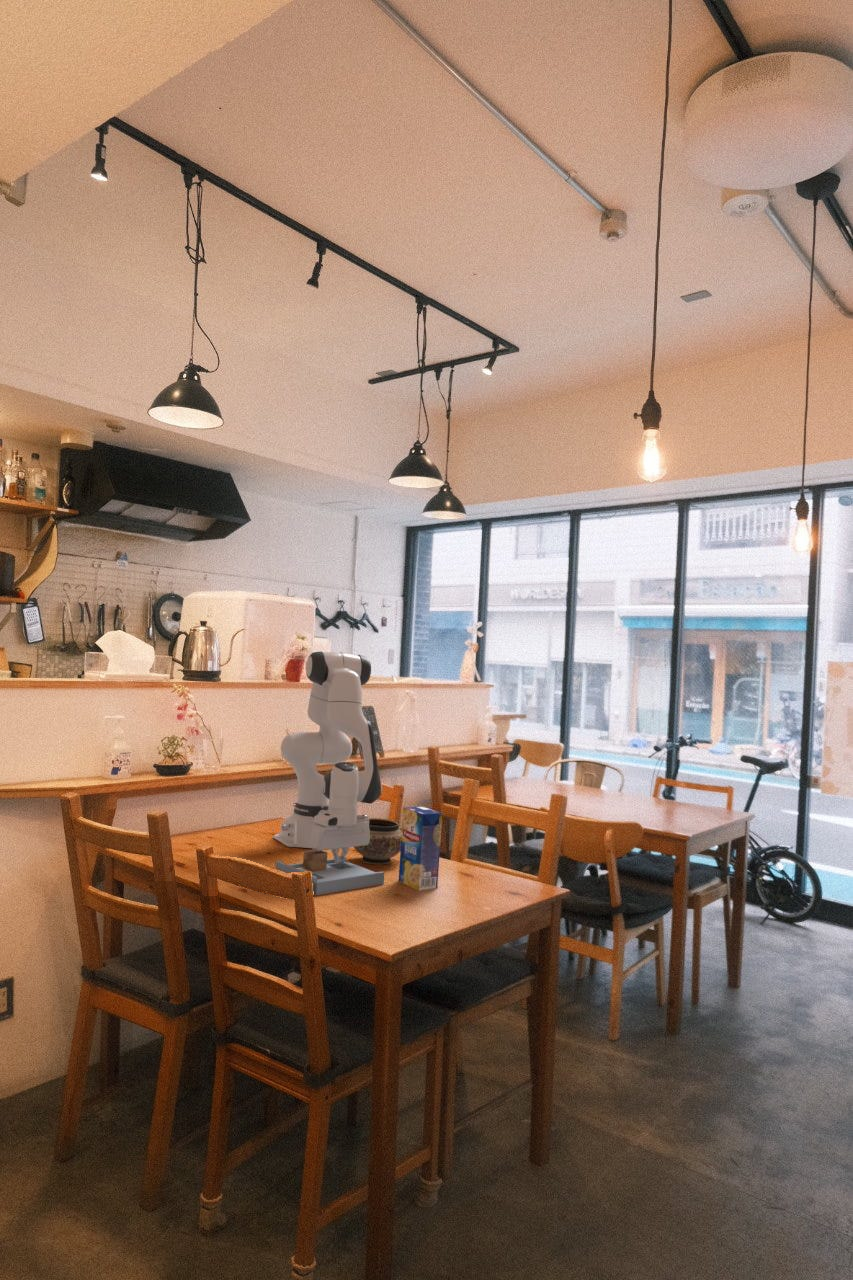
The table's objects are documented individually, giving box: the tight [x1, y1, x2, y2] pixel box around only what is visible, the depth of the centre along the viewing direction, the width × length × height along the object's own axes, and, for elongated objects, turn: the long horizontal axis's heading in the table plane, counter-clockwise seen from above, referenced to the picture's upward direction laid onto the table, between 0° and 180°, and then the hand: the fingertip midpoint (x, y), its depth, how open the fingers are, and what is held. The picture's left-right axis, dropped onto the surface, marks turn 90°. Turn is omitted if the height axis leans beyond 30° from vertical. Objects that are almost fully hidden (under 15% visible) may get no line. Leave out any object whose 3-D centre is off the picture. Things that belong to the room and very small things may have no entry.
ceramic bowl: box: [353, 817, 402, 865], centre depth 272 cm, size 24×18×15 cm
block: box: [302, 849, 328, 872], centre depth 248 cm, size 5×5×5 cm
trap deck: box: [274, 857, 385, 897], centre depth 244 cm, size 20×25×5 cm
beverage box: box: [398, 806, 443, 891], centre depth 248 cm, size 7×11×22 cm, turn 34°
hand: (339, 862), depth 252 cm, fingers closed
